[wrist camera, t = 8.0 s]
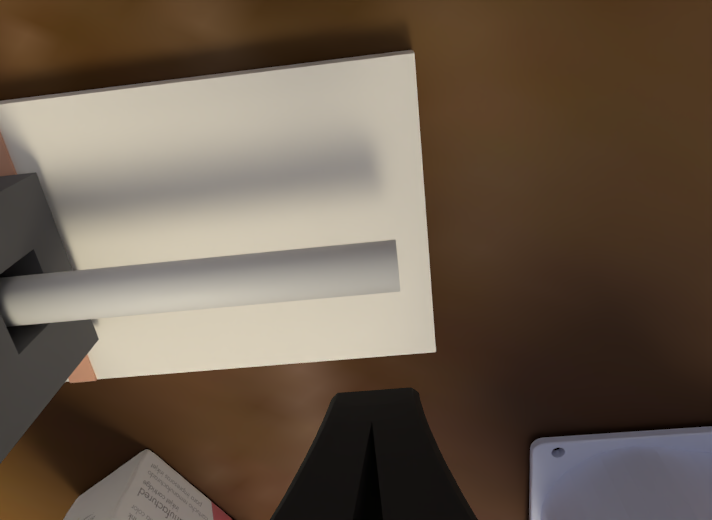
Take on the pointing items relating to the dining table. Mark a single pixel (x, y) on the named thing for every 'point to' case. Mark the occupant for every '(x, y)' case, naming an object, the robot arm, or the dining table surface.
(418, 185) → the pipe stand
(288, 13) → the dining table surface
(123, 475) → the ink cartridge box
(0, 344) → the grey square sleeve
